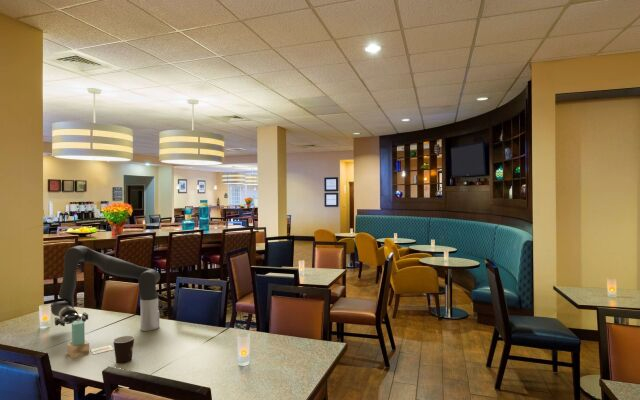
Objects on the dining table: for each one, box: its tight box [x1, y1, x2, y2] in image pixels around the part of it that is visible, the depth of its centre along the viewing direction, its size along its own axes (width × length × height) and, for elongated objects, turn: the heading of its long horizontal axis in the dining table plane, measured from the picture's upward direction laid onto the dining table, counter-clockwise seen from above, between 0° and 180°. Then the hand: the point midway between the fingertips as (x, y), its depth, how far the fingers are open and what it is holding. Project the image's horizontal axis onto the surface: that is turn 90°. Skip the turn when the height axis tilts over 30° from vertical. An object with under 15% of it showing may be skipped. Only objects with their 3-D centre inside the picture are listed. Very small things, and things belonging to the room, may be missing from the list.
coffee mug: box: [112, 335, 135, 365], centre depth 175 cm, size 12×9×10 cm
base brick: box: [66, 340, 90, 359], centre depth 182 cm, size 7×7×5 cm
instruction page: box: [89, 344, 115, 355], centre depth 186 cm, size 9×7×1 cm
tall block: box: [71, 321, 86, 346], centre depth 182 cm, size 4×4×10 cm
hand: (74, 322), depth 189 cm, fingers open, 8 cm apart
